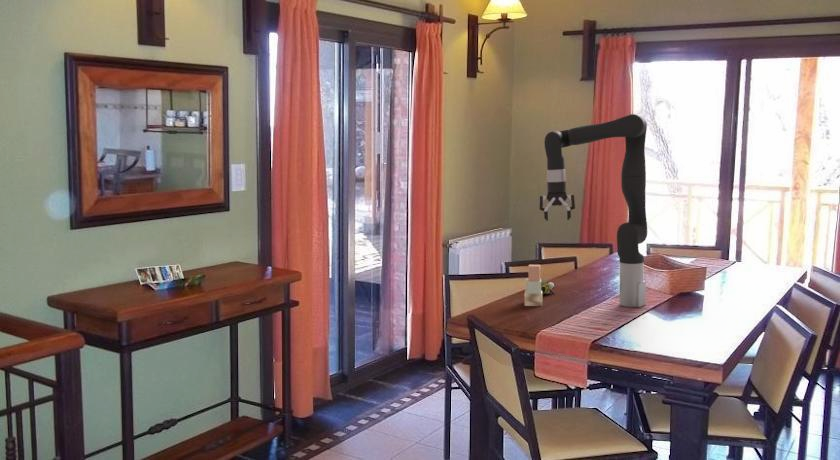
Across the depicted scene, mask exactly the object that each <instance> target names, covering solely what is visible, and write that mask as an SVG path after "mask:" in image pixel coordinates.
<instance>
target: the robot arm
mask: <svg viewBox="0 0 840 460" xmlns="http://www.w3.org/2000/svg"><path fill="white" fill-rule="evenodd" d="M647 123H648V122H647V120H646V118H645V117H644V116H643V115H641V114H639V113H629V114H627V115H625V116H622V117H619V118H616V119H614V120H610V121H607V122H601V123H600V122H599V123H595V124H594V123H593V124H586V125H580V126H576V127H572V128H570V129H566V130H565V129H564V130H555V131H554V130H553V131H549V132H548V133H547V134H546V135H545V137H544V149H545V150H544V151H545V156H546V166H547V167H546V168H547V172H546V186H547V188H546V189H547V195H540V196H539V210H540V211H542V212H543V213H544V220H546V221H545V222H548V221H549V212H548V210H549V209H550V208H551V206H553V207H554V206H555V207H556V206H561V207H562V205H563V206H564V207H565V209H566V213H567V215H566V216H567V221H570V219H571V218H572V217H571V216H572V213H571V211H572V210H574V209H576V203H575V194H574V193H571V194H567V176H566V175H567V174H566V168H565V167H566V166H565V163H566V161H565V157H564V155H563V153H562V152H563V150H562V149H563V148H566V147H567V148H568V147H571V146H579V145H584V144H589V143H594V142H598V141H602V140H606V139H611V138H612V139H613V138H624V140H625V151H624V158H623V162H622V166H621V174H620V176H621V177H620V178H621V184H620V185H621V191H622V194H623V197H624V199H625V202H626V205H627V209H628V221H626V222H624V223H621V224H620V225H619V226H618V228H617V232H616V247H617V249H616V250H617V251H616V252H617V256H618V259H619V305H620V306H622V307H627V308H640V307H643V306H646V303H647V301H646V299H647V297H646V295H647V291H646V290H647V289H646V286H647V284H646V283H647V282H646V281H645V279H644V278H645V277H644V269H645V268H644V267H645V265H644V261H645V259H644V254H642V253H640V250H639V244H643V243H644V242H645V241H646V239H647V237H648V222H647V213H646V187H647V184H646V183H647V180H646V179H647V178H646V177H647V176H646V175H647V170H646V169H647V167H646V155H645V150H646V149H645V145H646V137H647V127H648V124H647ZM567 199H569V201H571V206H569V204H568V203H567V202H566V200H567ZM545 200H547V201H548V203H547V204H546V206H545V207H544V205H543V204H544V202H545Z"/></svg>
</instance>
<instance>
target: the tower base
mask: <svg viewBox="0 0 840 460" xmlns="http://www.w3.org/2000/svg"><path fill="white" fill-rule="evenodd" d="M523 296H524V307H543V293H542V291H541V294H526V290H524V295H523Z"/></svg>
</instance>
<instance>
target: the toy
mask: <svg viewBox="0 0 840 460" xmlns="http://www.w3.org/2000/svg"><path fill="white" fill-rule="evenodd" d="M555 288H556V285H555V283H554V282H551V281H549V282H547V279H546V278H545V279H543V280H541V291H542V294H546V295H548V294H552V295H553V296H555V295H556V294H555V293H554V292H553V291H552V290H553V289H555Z"/></svg>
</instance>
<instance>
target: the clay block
mask: <svg viewBox="0 0 840 460" xmlns="http://www.w3.org/2000/svg"><path fill="white" fill-rule="evenodd" d="M527 268H528V269H527V270H528V273H527V274H528V279H529V281H540V279H541V264H528V267H527Z"/></svg>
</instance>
